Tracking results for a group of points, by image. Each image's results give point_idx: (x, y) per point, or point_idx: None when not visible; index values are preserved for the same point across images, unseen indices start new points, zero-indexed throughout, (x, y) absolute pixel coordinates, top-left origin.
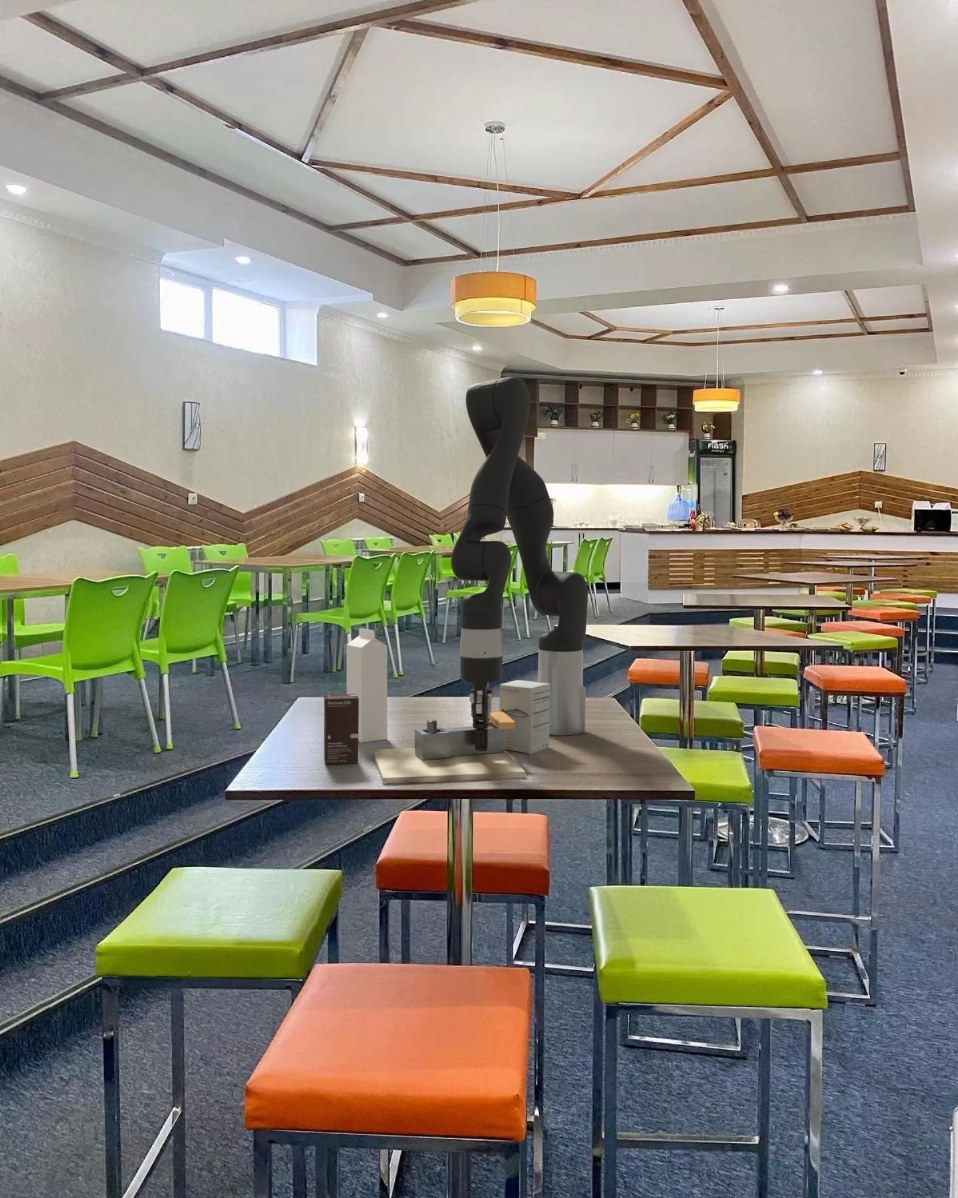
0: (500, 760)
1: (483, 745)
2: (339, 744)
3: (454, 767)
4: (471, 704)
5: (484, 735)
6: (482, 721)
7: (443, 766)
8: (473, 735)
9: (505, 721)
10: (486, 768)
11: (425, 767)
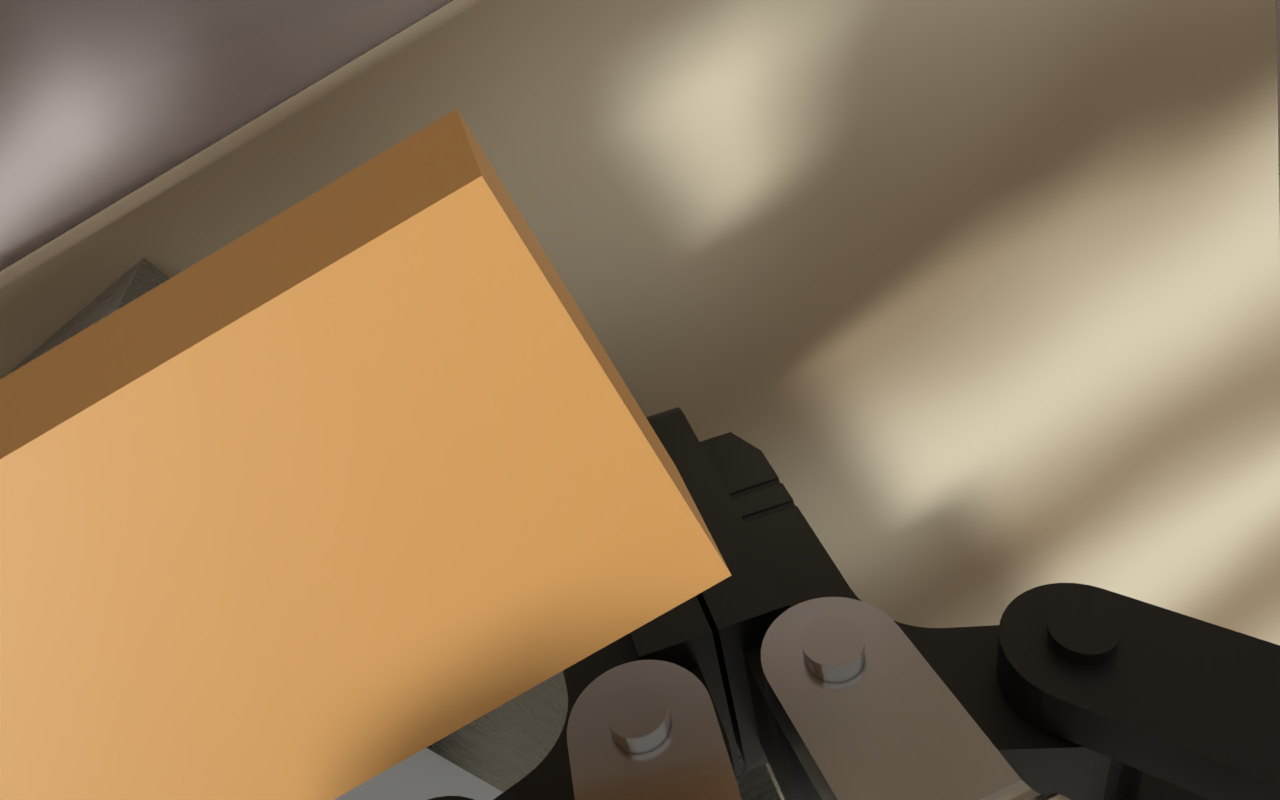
0: (647, 158)
1: (766, 467)
2: None
3: (1032, 480)
4: None
5: (829, 558)
6: (1105, 771)
7: (1004, 565)
8: (543, 742)
9: (508, 498)
10: (1069, 186)
11: None
